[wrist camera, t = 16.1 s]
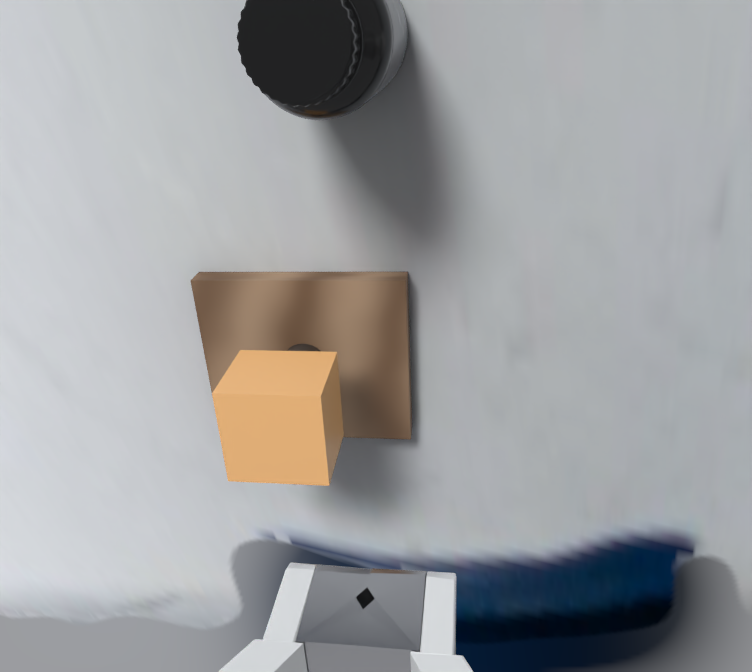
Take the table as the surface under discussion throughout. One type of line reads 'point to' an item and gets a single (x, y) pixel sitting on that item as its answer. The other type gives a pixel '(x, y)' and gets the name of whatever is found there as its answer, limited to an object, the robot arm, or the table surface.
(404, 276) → the post board
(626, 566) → the table surface
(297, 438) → the peach wooden cube
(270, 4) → the supplement bottle
